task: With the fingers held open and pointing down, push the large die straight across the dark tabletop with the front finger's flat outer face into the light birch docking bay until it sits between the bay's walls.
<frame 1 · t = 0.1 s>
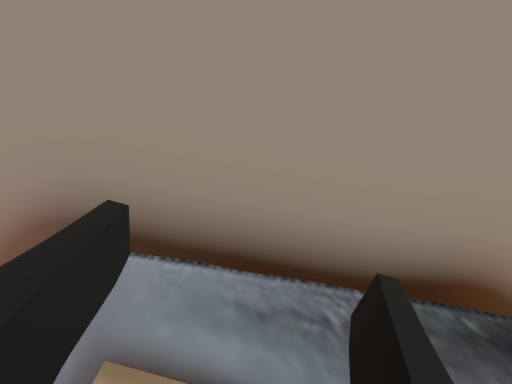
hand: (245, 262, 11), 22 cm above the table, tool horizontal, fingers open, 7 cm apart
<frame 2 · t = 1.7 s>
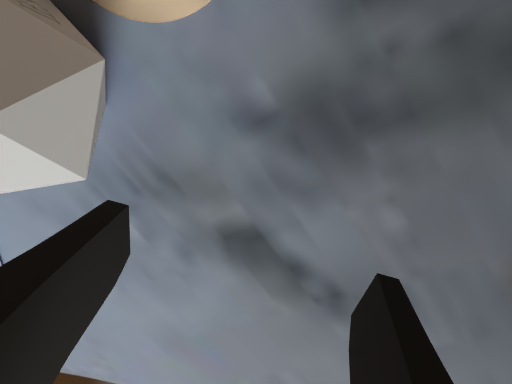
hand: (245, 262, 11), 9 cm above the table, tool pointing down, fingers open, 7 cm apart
die: (58, 62, 18), on the table
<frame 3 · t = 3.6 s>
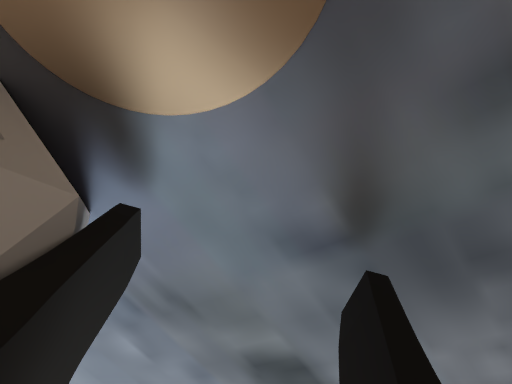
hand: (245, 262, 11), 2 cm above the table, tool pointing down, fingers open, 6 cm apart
die: (18, 156, 12), on the table, touching gripper
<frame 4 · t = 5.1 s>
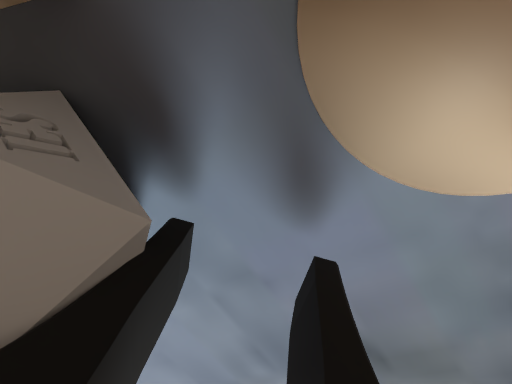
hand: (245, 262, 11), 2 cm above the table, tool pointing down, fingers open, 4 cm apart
die: (70, 168, 12), on the table, touching gripper
coaster: (510, 12, 8), on the table
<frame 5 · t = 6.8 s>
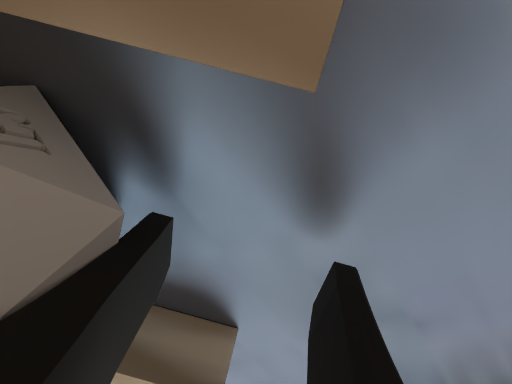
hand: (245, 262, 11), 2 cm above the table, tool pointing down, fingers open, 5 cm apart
dock: (106, 186, 12), on the table
die: (50, 164, 12), on the table, touching dock, gripper
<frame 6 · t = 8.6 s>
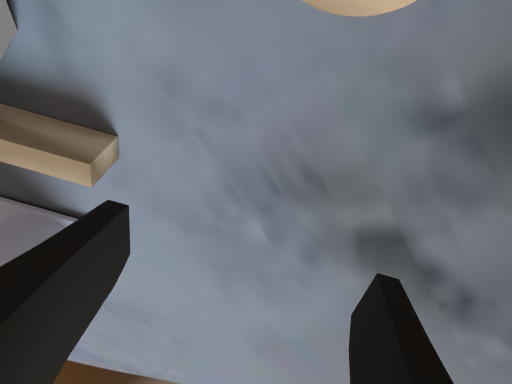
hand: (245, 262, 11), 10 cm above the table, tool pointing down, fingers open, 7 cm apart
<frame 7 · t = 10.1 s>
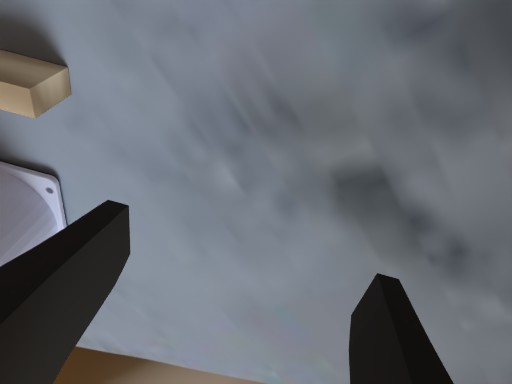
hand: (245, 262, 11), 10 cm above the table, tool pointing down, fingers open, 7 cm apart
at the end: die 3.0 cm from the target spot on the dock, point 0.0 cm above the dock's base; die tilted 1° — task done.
